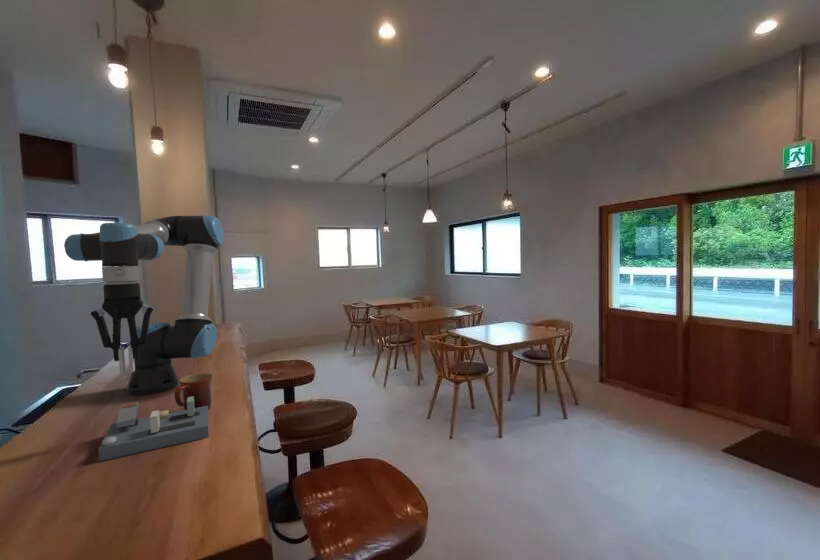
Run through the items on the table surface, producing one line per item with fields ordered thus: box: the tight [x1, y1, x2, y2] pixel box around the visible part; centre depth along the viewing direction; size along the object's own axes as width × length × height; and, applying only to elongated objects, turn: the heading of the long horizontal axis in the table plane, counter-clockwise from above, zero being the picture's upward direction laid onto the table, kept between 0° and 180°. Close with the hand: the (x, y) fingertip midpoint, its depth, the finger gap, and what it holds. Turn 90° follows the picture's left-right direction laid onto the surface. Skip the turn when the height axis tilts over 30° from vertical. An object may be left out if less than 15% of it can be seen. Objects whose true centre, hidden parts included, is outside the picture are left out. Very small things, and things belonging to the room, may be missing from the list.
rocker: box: [115, 401, 140, 428], centre depth 96 cm, size 8×4×2 cm, turn 29°
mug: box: [174, 372, 213, 411], centre depth 110 cm, size 12×9×10 cm
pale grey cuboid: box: [150, 410, 160, 433], centre depth 92 cm, size 4×2×4 cm, turn 29°
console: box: [97, 406, 210, 462], centre depth 96 cm, size 15×22×4 cm
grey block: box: [187, 396, 195, 416], centre depth 101 cm, size 4×2×4 cm, turn 29°
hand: (127, 371), depth 97 cm, fingers closed
